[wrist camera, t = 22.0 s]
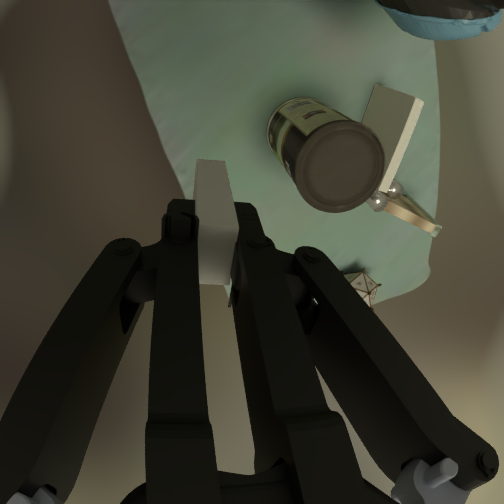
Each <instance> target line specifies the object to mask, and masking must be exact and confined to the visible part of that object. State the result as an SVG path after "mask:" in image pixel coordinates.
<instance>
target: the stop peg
mask: <svg viewBox="0 0 504 504" xmlns="http://www.w3.org/2000/svg"><path fill="white" fill-rule="evenodd" d="M402 192H403V188H402V186H401V185H400V184H399V183H398V182H397V181H395V180H394V179H393V181H392V183H391V185H390V187H389V189H388V192H387V193H386V194H387V195H388V196H389V197H390V198H391V199H397V198H399V197H400V196H401V194H402Z"/></svg>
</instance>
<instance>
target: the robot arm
mask: <svg viewBox="0 0 504 504" xmlns="http://www.w3.org/2000/svg"><path fill="white" fill-rule="evenodd" d="M375 2H376V3H377V4H378V5H379V6H380V7H382V8H383V9H384V10H385V11H386V12H387V13H388V15H389V16H390V17H391V18H392V20H393V21H394V22H395V23H396V25H397V26H398V27H400V28H401V29H402V30H403V31H406V32H408V33H409V34H411V35H413V36H416V37H419V38H423V39H429V40H459V39H467V38H471V37H475V36H478V35H480V34H481V32H482V31H483V32H489V31H491V30H493V29H494V28H496V27H497V26H498V25H499V23H500V22H501V20H502V9H503V8H504V0H375ZM161 236H162V238H161V240H160V241H159V242H158V243H156V244H153V245H150V246H145V247H141V245H140V243H138V242H137V241H136V240H133V239H130V238H119V239H115V240H113V241H111V242H110V243H109V244H107V245H106V246H105V248H104V249H103V251H102V252H101V254H100V255H99V256H98V257H97V259H96V260H95V262H94V263H93V264H92V266H91V267H90V269H89V270H88V271H87V273H86V274H85V276H84V277H83V278H82V280H81V281H80V283H79V284H78V286H77V287H76V289H75V290H74V292H73V293H72V295H71V296H70V298H69V299H68V301H67V302H66V304H65V305H64V307H63V308H62V310H61V311H60V313H59V315H58V316H57V318H56V320H55V321H54V323H53V324H52V326H51V327H50V329H49V331H48V332H47V334H46V336H45V337H44V339H43V341H42V342H41V344H40V346H39V347H38V349H37V351H36V353H35V355H34V356H33V358H32V360H31V362H30V363H29V365H28V367H27V369H26V371H25V373H24V374H23V376H22V378H21V380H20V382H19V384H18V386H17V388H16V390H15V392H14V394H13V396H12V398H11V400H10V402H9V404H8V406H7V408H6V410H5V412H4V414H3V416H2V418H1V421H0V504H64V503H65V501H66V500H67V498H68V496H69V494H70V493H71V491H72V489H73V487H74V485H75V482H76V480H77V477H78V474H79V472H80V469H81V466H82V462H83V459H84V456H85V453H86V450H87V448H88V445H89V442H90V439H91V436H92V433H93V430H94V428H95V425H96V422H97V419H98V417H99V414H100V411H101V409H102V406H103V403H104V401H105V398H106V395H107V393H108V390H109V388H110V385H111V383H112V380H113V378H114V375H115V373H116V370H117V368H118V365H119V363H120V361H121V358H122V356H123V353H124V351H125V349H126V346H127V344H128V341H129V339H130V337H131V335H132V332H133V330H134V328H135V325H136V323H137V321H138V319H139V316H140V314H141V312H142V310H143V308H144V303H145V302H147V301H152V300H154V309H153V322H152V335H151V351H150V368H149V396H148V421H147V422H146V428H145V465H146V467H145V468H146V482H145V483H143V484H142V485H140V486H138V487H137V488H135V489H134V490H133V491H132V492H130V493H129V494H128V495H127V496H126V497H125V498H124V499H123V501H122V502H121V503H120V504H400V503H398V502H401V504H465V502H466V500H467V498H468V496H469V494H470V492H471V491H472V490H473V489H475V488H477V487H479V486H481V485H483V484H485V483H487V482H488V481H490V480H491V479H493V478H494V477H495V475H496V474H497V472H498V467H499V460H498V455H497V453H496V451H495V449H494V448H493V447H492V446H491V445H490V444H488V443H487V442H486V441H485V440H483V439H482V438H481V437H480V436H478V435H477V434H476V433H475V432H473V431H472V430H471V429H470V428H468V427H467V426H466V425H464V424H463V423H462V422H461V421H459V420H458V419H457V418H456V417H454V416H453V415H452V414H451V412H450V411H449V409H448V408H447V407H446V405H445V404H444V402H443V401H442V400H441V398H440V397H439V396H438V394H437V393H436V392H435V390H434V389H433V387H432V386H431V385H430V384H429V382H428V381H427V379H426V378H425V377H424V375H423V374H422V373H421V371H420V370H419V369H418V368H417V366H416V365H415V364H414V363H413V361H412V360H411V358H410V357H409V356H408V355H407V353H406V352H405V351H404V349H403V348H402V347H401V346H400V344H399V343H398V342H397V341H396V339H395V338H394V337H393V335H392V334H391V333H390V332H389V330H388V329H387V328H386V326H385V325H384V324H383V323H382V322H381V320H380V319H379V318H378V317H377V315H376V314H375V313H374V312H373V310H372V309H371V308H370V307H369V306H368V304H367V303H366V302H365V301H364V299H363V298H362V297H361V296H360V295H359V293H358V292H357V291H356V290H355V289H354V287H353V286H352V285H351V284H350V283H349V281H348V280H347V279H346V278H345V277H344V275H343V274H342V273H341V272H340V271H339V270H338V268H337V267H336V266H335V265H334V264H333V263H332V261H331V260H330V259H329V258H328V257H327V256H326V255H325V254H324V253H323V252H322V251H320V250H318V249H316V248H314V247H310V246H302V247H299V248H297V249H296V250H295V253H294V254H290V253H286V252H283V251H280V250H278V249H276V248H275V245H274V243H273V241H272V240H271V239H270V238H268V237H267V236H265V234H264V231H263V228H262V225H261V222H260V219H259V216H258V213H257V210H256V208H255V207H254V206H253V205H252V204H251V203H243V202H234V201H233V197H232V192H231V187H230V183H229V178H228V173H227V169H226V164H225V161H217V160H204V159H197V162H196V171H195V181H194V192H193V200H187V199H173V200H172V201H171V202H170V203H169V204H168V207H167V213H166V214H164V216H163V218H162V235H161ZM230 278H231V279H232V287H231V293H230V298H229V305H228V307H231V304H232V308H233V315H234V322H235V329H236V335H237V342H238V349H239V355H240V361H241V368H242V375H243V381H244V387H245V393H246V399H247V406H248V412H249V418H250V424H251V430H252V436H253V441H254V448H255V458H254V469H255V474H254V475H242V474H235V473H229V472H223V471H218V470H217V464H216V456H215V447H214V439H213V431H212V426H211V424H210V421H209V416H208V406H207V395H206V384H205V372H204V358H203V344H202V329H201V311H200V290H199V284H220V285H229V284H230ZM314 298H315V300H316V301H317V303H318V305H317V304H316V302H315V301H314ZM315 366H316V368H317V369H318V371H319V372H320V374H321V376H322V378H323V379H324V381H325V383H326V384H327V386H328V387H329V389H330V391H331V392H332V394H333V396H334V397H335V399H336V400H337V402H338V403H339V405H340V407H341V408H342V410H343V412H344V413H345V415H346V417H347V418H348V420H349V421H350V423H351V425H352V426H353V428H354V430H355V431H356V433H357V434H358V436H359V438H360V439H361V441H362V442H363V444H364V446H365V447H366V449H367V451H368V452H369V454H370V455H371V457H372V458H373V460H374V461H375V463H376V464H377V465H378V467H379V468H380V469H381V470H382V471H383V472H384V474H385V475H386V476H387V477H388V478H389V479H390V480H392V481H393V482H394V483H395V486H394V487H393V488H392V490H391V497H392V498H390V497H389V496H388V495H386V494H385V493H384V492H382V491H381V490H379V489H378V488H376V487H375V486H374V485H372V484H371V483H369V482H368V481H367V480H365V479H364V478H363V477H362V475H361V471H360V468H359V465H358V462H357V459H356V455H355V453H354V449H353V446H352V443H351V440H350V437H349V433H348V430H347V428H346V424H345V422H344V420H343V418H342V416H341V415H340V414H339V413H338V412H335V411H331V410H330V409H329V407H328V406H327V403H326V399H325V396H324V393H323V390H322V387H321V384H320V380H319V378H318V375H317V371H316V368H315Z"/></svg>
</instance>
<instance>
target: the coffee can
mask: <svg viewBox="0 0 504 504" xmlns="http://www.w3.org/2000/svg"><path fill="white" fill-rule="evenodd" d="M267 140H268V144H269V146H270V148H271V150H272V152H273V153H274V154H275V155H276V157H277V158H278V159H279V161H280V162H281V163H282V165H283V166H284V168H285V169H286V171H287V172H288V174H289V175H290V177H291V178H292V180H293V181H294V183H295V184H296V186H297V189H298V191H299V193H300V194H301V196H302V197H303V198H304V200H305V201H306V202H307V203H308V204H310V205H311V206H312V207H314V208H316V209H318V210H320V211H324V212H329V213H340V212H345V211H349V210H352V209H354V208H356V207H358V206H360V205H361V204H363V203H364V202H365V201H367V200H368V199H369V198H370V197H371V196H372V195H373V194H374V192H375V191H376V190H377V188H378V187H379V185H380V183H381V181H382V179H383V176H384V172H385V167H386V155H385V150H384V147H383V144H382V142H381V140H380V139H379V137H378V136H377V134H376V133H375V132H374V131H373V130H372V129H370V128H369V127H367V126H365V125H364V124H362V123H359V122H356V121H354V120H352V119H351V118H349V117H347V116H345V115H343V114H342V113H340V112H338V111H336V110H334V109H332V108H330V107H328V106H326V105H325V104H323V103H322V102H320V101H318V100H316V99H313V98H308V97H299V98H294V99H291V100H288V101H286V102H285V103H283V104H282V105H280V106H279V107H278V108H277V109H276V110H275V111H274V113H273V114H272V116H271V118H270V120H269V123H268V126H267Z"/></svg>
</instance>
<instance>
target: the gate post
mask: <svg viewBox="0 0 504 504" xmlns="http://www.w3.org/2000/svg"><path fill="white" fill-rule="evenodd" d="M366 202H367V204H368V205H369V206H370V207H371V208H372V209H373V210H374V211H376V212H379V211H382V210H383V209H385V207H386V206H387V203H388V200H387V198H386V197H385V196H384V195H383V194H382V193H381V192H380V191H378V190H376V191H375V192H374V194H373V195H372V196H371V197H370V198H369V199H368V200H367V201H366Z"/></svg>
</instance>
